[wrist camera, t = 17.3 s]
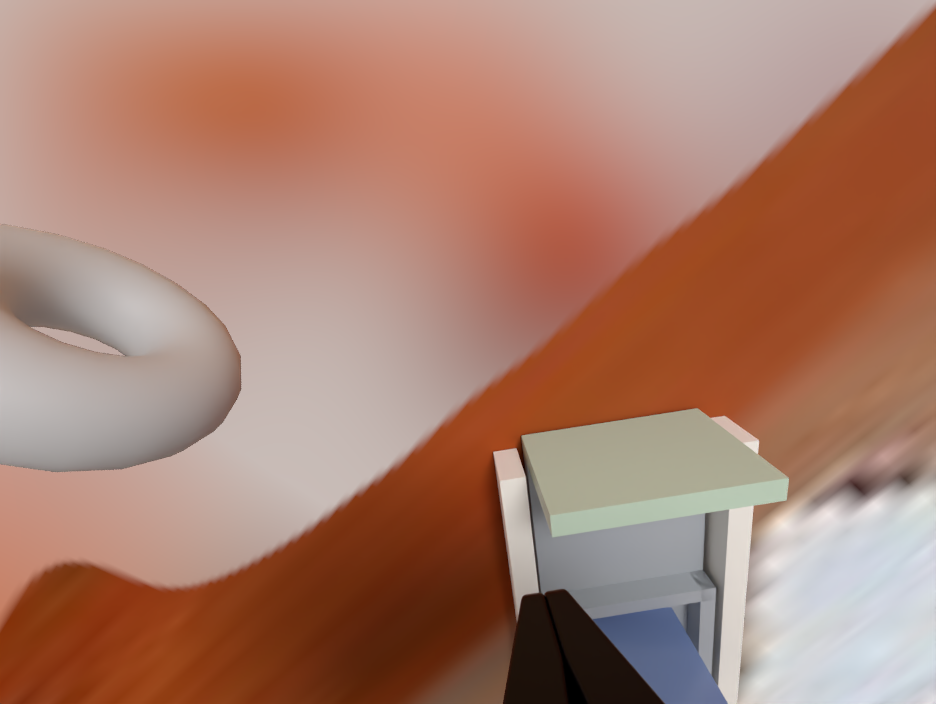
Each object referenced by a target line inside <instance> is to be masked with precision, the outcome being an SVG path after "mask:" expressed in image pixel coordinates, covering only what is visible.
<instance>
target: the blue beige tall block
mask: <svg viewBox="0 0 936 704" xmlns="http://www.w3.org/2000/svg"><path fill="white" fill-rule="evenodd" d="M592 620H593V621H594V622H595V623H596V624H597V625H598V627H599V628H600V629H601V630H602V631H603V632H604V634H605V635H606V636H607V637H608V638H609V639H610V640H611V642H612V643H613V644H614V645H615V646H616V647H617V649H618V650H619V651H620V652H621V653H622V654H623V655H624V657H625V658H626V659H627V660H628V661H629V662H630V664H631V665H632V666H633V667H634V668H635V669H636V671H637V672H638V673H639V674H640V675H641V676H642V677H643V679H644V680H645V681H646V682H647V683H648V684H649V686H650V687H651V688H652V689H653V690H654V691H655V692H656V694H657V695H658V696H659V697H660V698H661V699H662V701H663V702H664V703H665V704H728V703H727V701H726V699H725V698H724V696H723V694H722V693H721V691H720V689H719V687H718V686H717V684H716V682H715V681H714V679H713V677H712V675H711V674H710V672H709V670H708V669H707V667H706V665H705V663H704V662H703V660H702V658H701V657H700V655H699V653H698V651H697V650H696V648H695V646H694V645H693V643H692V641H691V640H690V638H689V636H688V634H687V633H686V631H685V629H684V628H683V626H682V624H681V622H680V621H679V619H678V617H677V616H676V614H675V612H674V610H673V609H672V607H667V608H659V609H653V610H646V611H640V612H634V613H628V614H622V615H615V616H609V617H603V618H597V619H592Z"/></svg>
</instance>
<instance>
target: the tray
mask: <svg viewBox="0 0 936 704" xmlns="http://www.w3.org/2000/svg"><path fill="white" fill-rule="evenodd" d="M521 438H522V447H523V456H524V464H525V473H526V482H527V491H528V500H529V508H530V517H531V526H532V535H533V544H534V552H535V561H536V570H537V579H538V588H539V592H541V593H543V594H545V592H547V591H550V590H557V589H565V590H567V591H568V592H569V593H570V594H571V595H572V597H573V598H574V599H575V600H576V601H577V602H578V603H579V605H580V606H581V607H582V608H583V609H584V610H585V612H586V613H587V614H588V615H589V616H590V617H591V618H592V619H597V618H603V617H609V616H615V615H622V614H628V613H634V612H640V611H646V610H653V609H659V608H667V607H672V609H673V610H674V612H675V614H676V616H677V617H678V619H679V621H680V622H681V624H682V626H683V628H684V629H685V631H686V633H687V634H688V636H689V638H690V640H691V641H692V643H693V645H694V646H695V648H696V650H697V651H698V653H699V655H700V657H701V658H702V660H703V662H704V663H705V665H706V667H707V669H708V670H709V672H710V674H712V655H713V637H714V618H715V600H716V587H715V585H714V584H713V583H712V581H711V580H710V579H709V577H708V576H707V575H706V573H705V572H704V570H703V555H704V531H705V513H710V512H716V511H723V510H729V509H735V508H741V507H748V506H754V505H760V504H767V503H773V502H779V501H786V500H787V491H788V482H789V478H788V477H787V476H786V475H784V474H783V473H782V472H780V471H779V470H778V469H776V468H775V467H774V466H773V465H771V464H770V463H769V462H767V461H766V460H765V459H763V458H762V457H761V456H759V455H758V454H757V453H755V452H754V451H753V450H752V449H750V448H749V447H748V446H746V445H745V444H744V443H742V442H741V441H740V440H738V439H737V438H736V437H734V436H733V435H732V434H731V433H729V432H728V431H727V430H725V429H724V428H723V427H721V426H720V425H719V424H717V423H716V422H715V421H713V420H712V419H711V418H709V417H708V416H707V415H706V414H704V413H703V412H702V411H700V410H699V409H698V408H696V409H690V410H683V411H677V412H670V413H664V414H658V415H651V416H645V417H638V418H632V419H625V420H619V421H612V422H606V423H599V424H593V425H587V426H580V427H574V428H567V429H561V430H554V431H548V432H541V433H535V434H529V435H522V436H521Z"/></svg>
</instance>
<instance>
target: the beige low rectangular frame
mask: <svg viewBox="0 0 936 704" xmlns="http://www.w3.org/2000/svg"><path fill="white" fill-rule="evenodd" d="M711 419H712V420H713V421H715V422H716V423H717V424H719V425H720V426H721V427H723V428H724V429H725V430H727V431H728V432H729V433H731V434H732V435H733V436H734V437H736V438H737V439H738V440H740V441H741V442H742V443H744V444H745V445H746V446H748V447H749V448H750V449H752V450H753V451H754V452H755V453H757V454H758V446H759V440H758V439H756V438H755V437H753V436H752V435H751V434H749V433H748V432H746V431H745V430H744V429H742V428H741V427H739V426H738V425H737V424H735V423H734V422H732V421H731V420H730V419H728V418H727V417H726V416H721V417H714V418H711ZM493 454H494V461H495V469H496V476H497V483H498V490H499V497H500V505H501V512H502V519H503V526H504V533H505V541H506V548H507V555H508V562H509V569H510V577H511V584H512V591H513V598H514V606H515V613H516V620H517V621H518V615H519V609H520V603H521V599H522V596H523V595H526V594H532V593H538V592H539V589H538V581H537V572H536V563H535V554H534V545H533V537H532V528H531V519H530V510H529V501H528V493H527V484H526V476H525V473H524V470H523V467H522V464H521V461H520V458H519V454H518V451H517V448H515V449H508V450H502V451H496V452H493ZM752 518H753V506H748V507H741V508H735V509H729V510H723V511H716V512H710V513H705V531H704V555H703V570H704V572H705V573H706V575H707V576H708V577H709V579H710V580H711V581H712V583H713V584H714V585H715V587H716V600H715V618H714V637H713V655H712V674H711V675H712V677H713V679H714V681H715V682H716V684H717V686H718V687H719V689H720V691H721V693H722V694H723V696H724V698H725V699H726V701H727V703H728V704H737V698H738V686H739V674H740V662H741V650H742V638H743V626H744V614H745V602H746V590H747V578H748V566H749V554H750V542H751V530H752Z"/></svg>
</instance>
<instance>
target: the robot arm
mask: <svg viewBox="0 0 936 704" xmlns="http://www.w3.org/2000/svg"><path fill="white" fill-rule="evenodd" d="M503 704H665V703H664V702H663V701H662V699H661V698H660V697H659V696H658V695H657V694H656V692H655V691H654V690H653V689H652V688H651V687H650V686H649V684H648V683H647V682H646V681H645V680H644V679H643V677H642V676H641V675H640V674H639V673H638V672H637V671H636V669H635V668H634V667H633V666H632V665H631V664H630V662H629V661H628V660H627V659H626V658H625V657H624V655H623V654H622V653H621V652H620V651H619V650H618V649H617V647H616V646H615V645H614V644H613V643H612V642H611V640H610V639H609V638H608V637H607V636H606V635H605V634H604V632H603V631H602V630H601V629H600V628H599V627H598V625H597V624H596V623H595V622H594V621H593V620H592V618H591V617H590V616H589V615H588V614H587V613H586V612H585V610H584V609H583V608H582V607H581V606H580V605H579V603H578V602H577V601H576V600H575V599H574V598H573V597H572V595H571V594H570V593H569V592H568V591H567V590H565V589H557V590H550V591H547V592H545V594H543V593H541V592H538V593H532V594H526V595H523V596H522V599H521V603H520V609H519V615H518V621H517V626H516V632H515V638H514V643H513V649H512V655H511V660H510V666H509V672H508V678H507V683H506V689H505V695H504V700H503Z"/></svg>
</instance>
